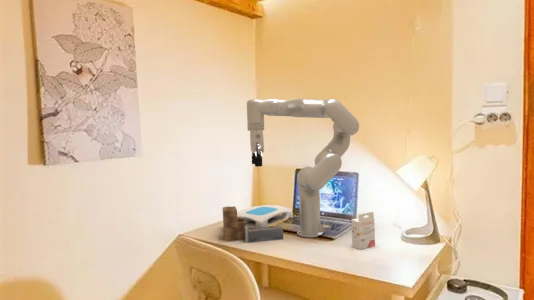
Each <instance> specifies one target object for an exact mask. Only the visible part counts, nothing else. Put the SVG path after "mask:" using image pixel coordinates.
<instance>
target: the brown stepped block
mask: <svg viewBox="0 0 534 300" xmlns="http://www.w3.org/2000/svg"><path fill="white" fill-rule="evenodd" d="M237 213H238V210H237V207H236V206H224V207H222V223H223V238H224V242H235V241H245V234H244V226H245V225H246V222H245V218H239V219H237Z"/></svg>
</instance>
